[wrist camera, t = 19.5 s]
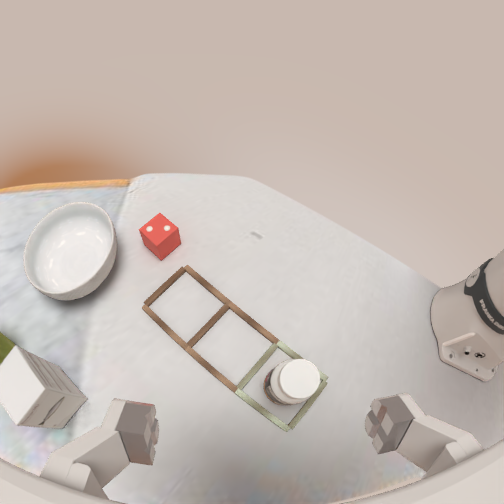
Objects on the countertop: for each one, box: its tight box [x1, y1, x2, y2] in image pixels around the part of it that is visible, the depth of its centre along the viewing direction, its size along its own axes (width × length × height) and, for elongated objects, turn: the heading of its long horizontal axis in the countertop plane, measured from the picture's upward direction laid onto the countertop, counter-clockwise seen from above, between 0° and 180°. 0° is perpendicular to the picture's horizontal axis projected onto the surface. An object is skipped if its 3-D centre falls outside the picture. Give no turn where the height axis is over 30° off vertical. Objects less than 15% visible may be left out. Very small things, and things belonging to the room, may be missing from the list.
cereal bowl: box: [23, 202, 117, 301], centre depth 42 cm, size 17×17×7 cm
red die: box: [139, 213, 181, 261], centre depth 47 cm, size 4×4×5 cm
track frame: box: [142, 265, 329, 432], centre depth 41 cm, size 28×10×1 cm, turn 51°
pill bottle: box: [264, 359, 320, 405], centre depth 35 cm, size 6×6×10 cm
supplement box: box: [0, 345, 87, 428], centre depth 28 cm, size 7×7×13 cm
